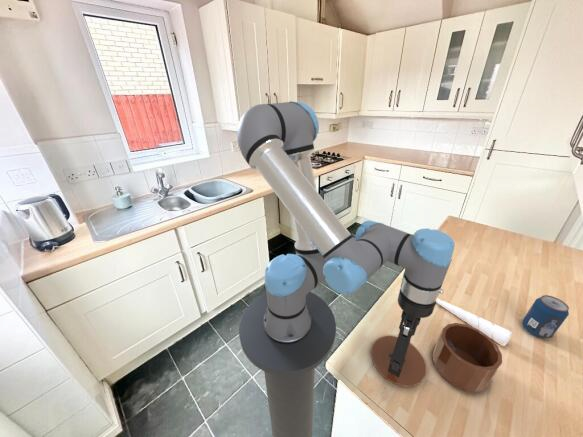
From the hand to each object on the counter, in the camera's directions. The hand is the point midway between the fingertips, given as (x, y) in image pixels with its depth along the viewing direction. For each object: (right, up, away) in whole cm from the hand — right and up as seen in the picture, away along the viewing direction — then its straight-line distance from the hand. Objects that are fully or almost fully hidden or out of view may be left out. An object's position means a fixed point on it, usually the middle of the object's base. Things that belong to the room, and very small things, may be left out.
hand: (400, 351), depth 65 cm
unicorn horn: (+27, +3, +13) cm, 30 cm away
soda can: (+46, +1, +10) cm, 47 cm away
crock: (+16, -4, +1) cm, 17 cm away
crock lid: (0, -3, +2) cm, 4 cm away
